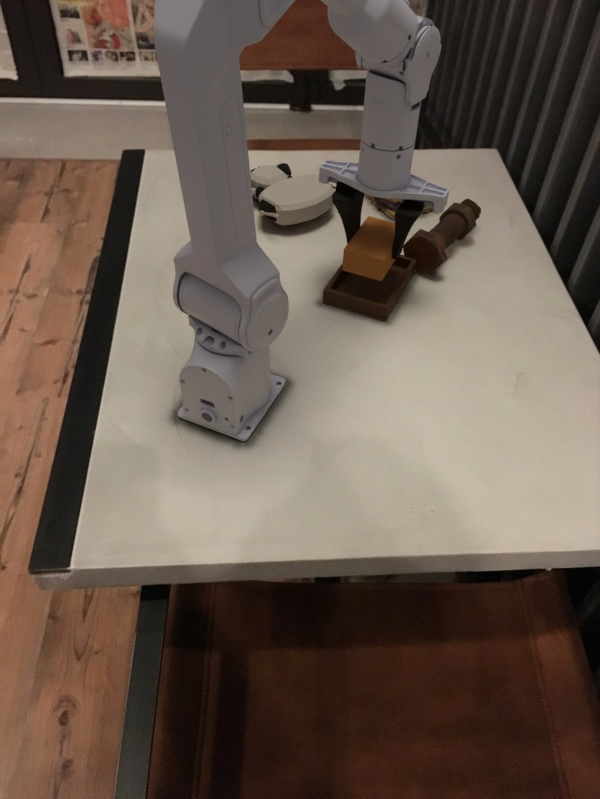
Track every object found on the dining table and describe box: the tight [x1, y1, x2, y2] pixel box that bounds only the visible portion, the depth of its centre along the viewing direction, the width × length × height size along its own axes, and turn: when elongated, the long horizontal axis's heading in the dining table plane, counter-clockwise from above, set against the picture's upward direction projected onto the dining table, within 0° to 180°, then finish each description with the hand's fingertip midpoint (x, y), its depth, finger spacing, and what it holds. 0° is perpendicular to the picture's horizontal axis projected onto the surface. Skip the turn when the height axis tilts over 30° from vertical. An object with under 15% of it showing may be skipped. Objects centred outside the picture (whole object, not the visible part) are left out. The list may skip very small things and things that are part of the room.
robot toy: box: [250, 162, 336, 226], centre depth 97 cm, size 12×4×15 cm
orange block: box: [341, 215, 404, 281], centre depth 82 cm, size 8×5×3 cm, turn 155°
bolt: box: [402, 198, 482, 275], centre depth 90 cm, size 6×5×15 cm
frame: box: [322, 253, 417, 323], centre depth 85 cm, size 11×8×2 cm
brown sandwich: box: [366, 194, 433, 220], centre depth 100 cm, size 11×8×4 cm
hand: (374, 248), depth 82 cm, fingers closed on orange block, 5 cm apart
